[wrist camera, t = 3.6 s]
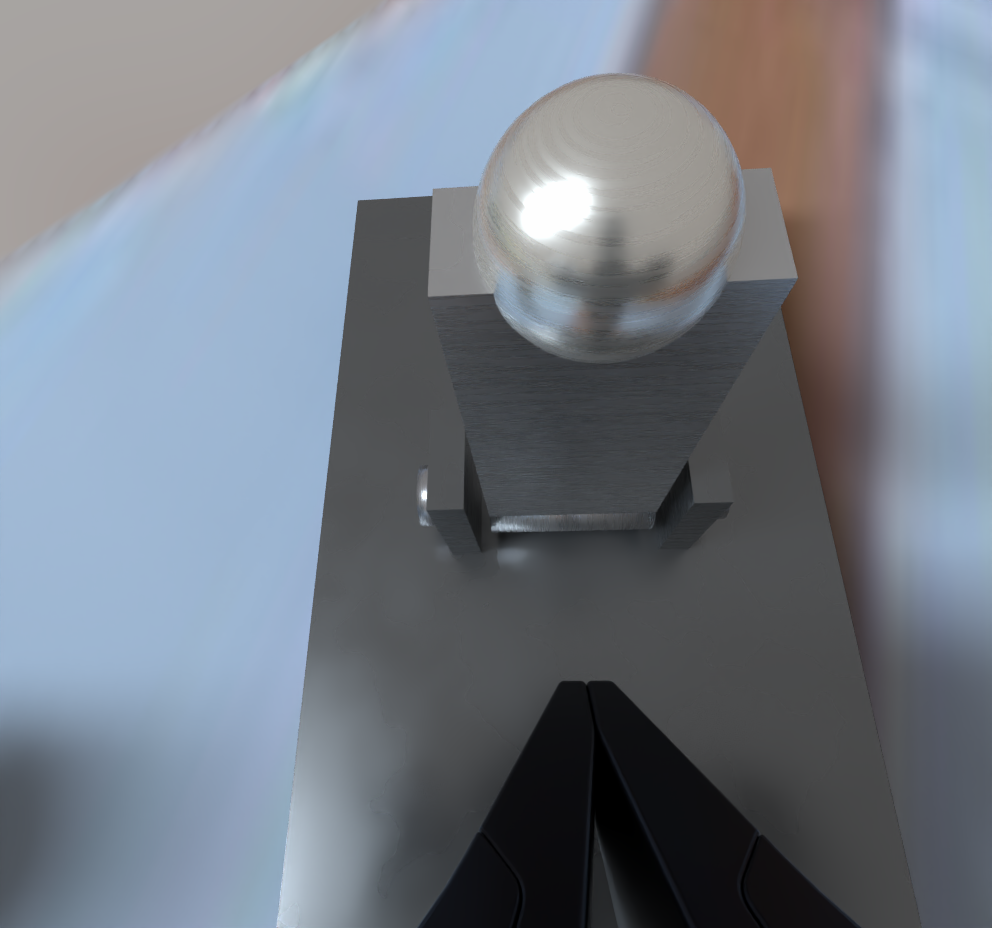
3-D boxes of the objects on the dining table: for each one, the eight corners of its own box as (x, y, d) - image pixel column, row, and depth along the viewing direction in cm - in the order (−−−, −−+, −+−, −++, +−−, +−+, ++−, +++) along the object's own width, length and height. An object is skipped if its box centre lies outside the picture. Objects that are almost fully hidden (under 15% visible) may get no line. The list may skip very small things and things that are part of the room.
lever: (647, 556, 15) (894, 220, 5) (494, 559, 15) (391, 250, 5) (636, 450, 16) (814, -15, 6) (494, 455, 17) (410, 19, 6)
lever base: (876, 1012, 14) (1158, 1273, 8) (313, 995, 15) (141, 1216, 9) (725, 239, 23) (797, 60, 17) (379, 258, 24) (319, 96, 18)
